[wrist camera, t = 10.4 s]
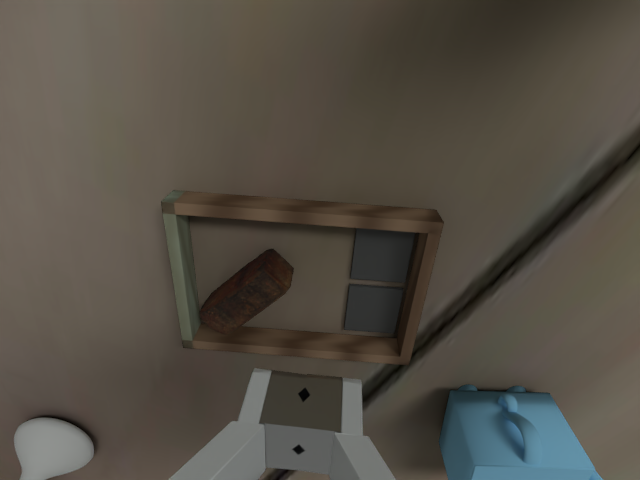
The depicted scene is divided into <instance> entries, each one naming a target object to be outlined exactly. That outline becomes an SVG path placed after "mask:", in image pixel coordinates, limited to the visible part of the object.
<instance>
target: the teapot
mask: <svg viewBox="0 0 640 480" xmlns="http://www.w3.org/2000/svg"><path fill="white" fill-rule="evenodd" d="M439 445H440V449H441V453H442V456H443V460H444V464H445V468H446V472H447V476H448V480H603V479H602V478H601V477H600V476H599V474H598V473H597V472H596V471H595V468H594V466H593V464H592V463H591V461H590V459H589V458H588V456H587V454H586V453H585V451H584V449H583V448H582V446H581V444H580V443H579V441H578V439H577V438H576V436H575V435H574V433H573V431H572V430H571V428H570V426H569V425H568V423H567V421H566V420H565V418H564V416H563V415H562V413H561V411H560V410H559V408H558V406H557V405H556V403H555V401H554V400H553V398H552V397H551V395H550V393H539V392H526V389H525V388H524V387H522V386H513V387H511V388H509V389H508V390H507V391H506V392H502V391H478V390H477V388H476V387H475V386H473V385H463V386H461V387H460V388H459V389H458V390H450V394H449V398H448V402H447V407H446V411H445V416H444V420H443V425H442V429H441V433H440V438H439Z"/></svg>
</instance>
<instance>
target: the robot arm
mask: <svg viewBox="0 0 640 480" xmlns="http://www.w3.org/2000/svg"><path fill="white" fill-rule="evenodd" d="M266 467H269V468H280V469H292V470H301V471H307V472H314V473H321V474H328V475H329V477H330V479H331V480H396V479H395V477H394V476H393V474H392V473H391V471H390V469H389V468H388V466H387V465H386V463H385V462H384V460H383V458H382V457H381V455H380V454H379V452H378V451H377V449H376V448H375V446H374V444H373V443H372V441H371V440H370V438H369V437H368V436H363V423H362V383H361V380H359V379H350V378H342V377H334V376H323V375H312V374H307V375H305V374H298V373H290V372H283V371H275V370H267V369H258V368H255V369H254V370H253V372H252V374H251V378H250V381H249V384H248V388H247V391H246V394H245V397H244V401H243V404H242V407H241V411H240V414H239V417H238V420H237V421H231V422H230V423H229V424H228V425H227V426H226V427H225V428H224V429H222V430H221V431H220V432H219V433H218V434H217V435H216V436H215V437H214V438H213V439H212V440H211V441H209V442H208V443H207V444H206V445H205V446H204V447H203V448H202V449H201V450H200V451H199V452H198V453H197V454H195V455H194V456H193V457H192V458H191V459H190V460H189V461H188V462H187V463H186V464H185V465H184V466H182V467H181V468H180V469H179V470H178V471H177V472H176V473H175V474H174V475H173V476H172V477H171V478H169V479H168V480H258V479H259V478H260V476H261V475H262V474H263V472H264V471H265V470H266Z"/></svg>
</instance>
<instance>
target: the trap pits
mask: <svg viewBox="0 0 640 480" xmlns="http://www.w3.org/2000/svg"><path fill="white" fill-rule="evenodd" d="M414 237H415V232H404V231H390V230H377V229H364V228H356V236H355V244H354V252H353V261H352V269H351V279H364V280H377V281H390V282H403V283H405V280H406V275H407V270H408V266H409V261H410V256H411V251H412V247H413V242H414ZM402 294H403V288H398V287H384V286H371V285H358V284H350V285H349V293H348V301H347V309H346V317H345V326H344V330H355V331H368V332H381V333H395V328H396V323H397V318H398V314H399V309H400V304H401V299H402Z"/></svg>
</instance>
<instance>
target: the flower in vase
mask: <svg viewBox="0 0 640 480" xmlns="http://www.w3.org/2000/svg"><path fill="white" fill-rule="evenodd" d="M14 444H15V450H16V453H17V456H18V459H19V461H20V464H21V467H22V474H21V477H20V479H19V480H46V479H48V478H51V477H54V476H58V475H62V474H66V473H69V472H72V471H75V470H77V469H79V468H82V467H83V466H85V465H86V464H87V463H88V462H89V461H90V460H91V459H92V458H93V456H94V445H93V442H92V440H91V439H90V437H89V436H88V435H87V434H86V433H85V432H84V431H83V430H81V429H80V428H78V427H76V426H75V425H73V424H71V423H68V422H66V421H63V420H59V419H55V418H46V417H43V418H34V419H31V420H29V421H26V422H24V423H22V424H21V425H20V426H19V427H18V428H17V430H16V433H15V436H14Z"/></svg>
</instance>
